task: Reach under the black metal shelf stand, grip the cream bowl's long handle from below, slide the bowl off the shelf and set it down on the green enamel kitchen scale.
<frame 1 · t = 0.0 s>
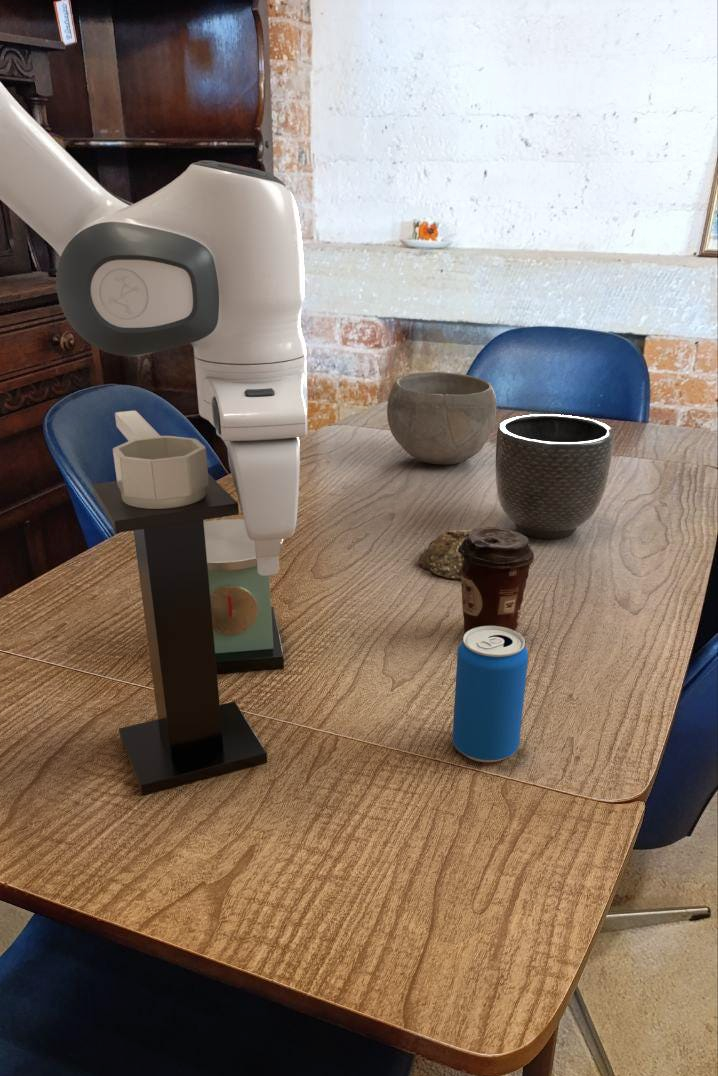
hand: (261, 550, 77), 20 cm above the table, tool pointing down, fingers open, 8 cm apart
handled bowl: (164, 494, 73), point 26 cm above the table, touching shelf stand
brown rock: (463, 565, 126), on the table
fruit: (548, 451, 177), on the table
scale: (232, 645, 104), on the table
bowl: (439, 459, 171), on the table
planter: (544, 530, 138), on the table
shelf stand: (192, 750, 85), on the table
coffee cup: (488, 637, 106), on the table
beverage can: (484, 749, 86), on the table
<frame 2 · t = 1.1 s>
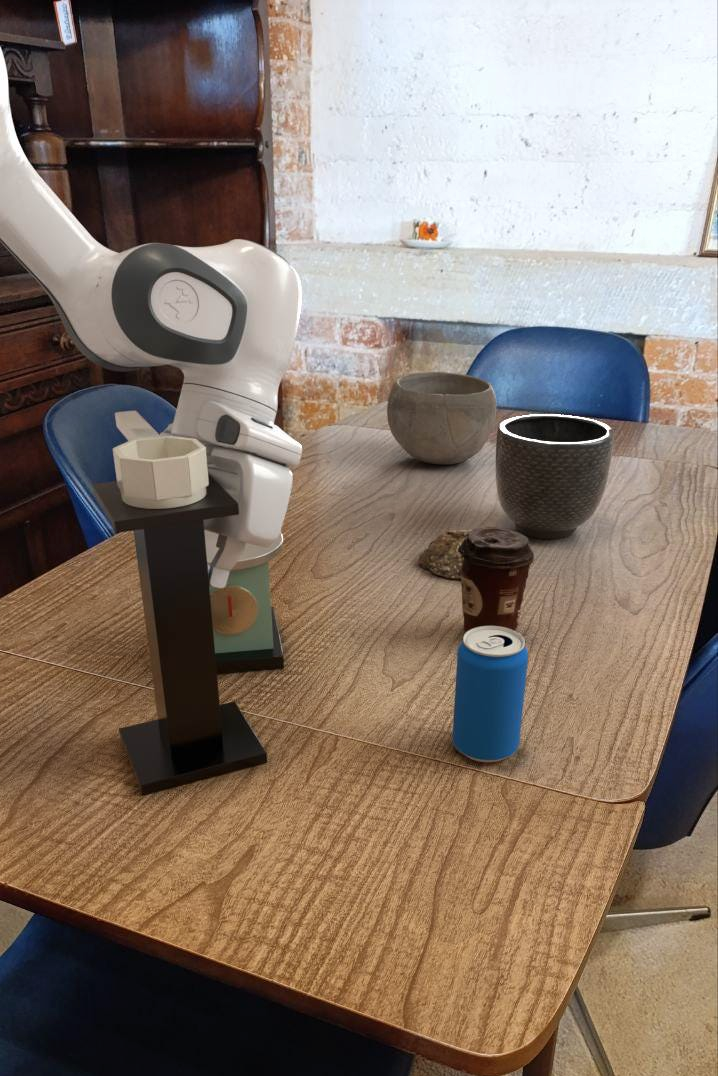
hand: (185, 575, 82), 16 cm above the table, tool tilted 25°, fingers open, 8 cm apart
nothing on the table moved.
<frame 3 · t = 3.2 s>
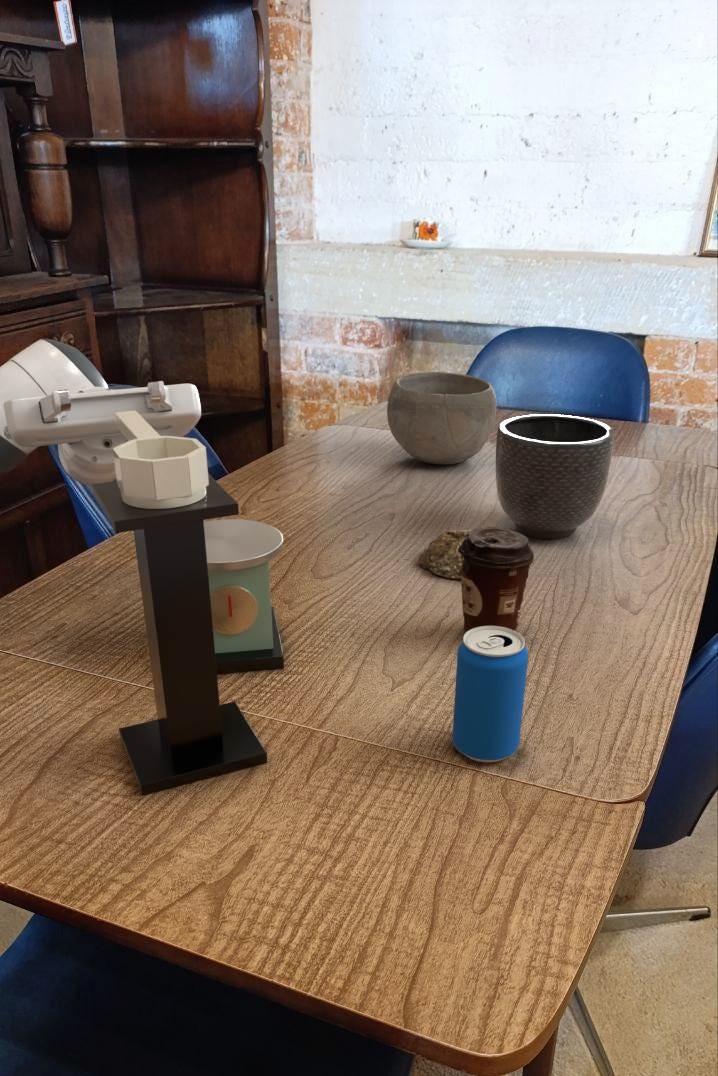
hand: (110, 393, 88), 30 cm above the table, tool pointing upward, fingers open, 8 cm apart
nothing on the table moved.
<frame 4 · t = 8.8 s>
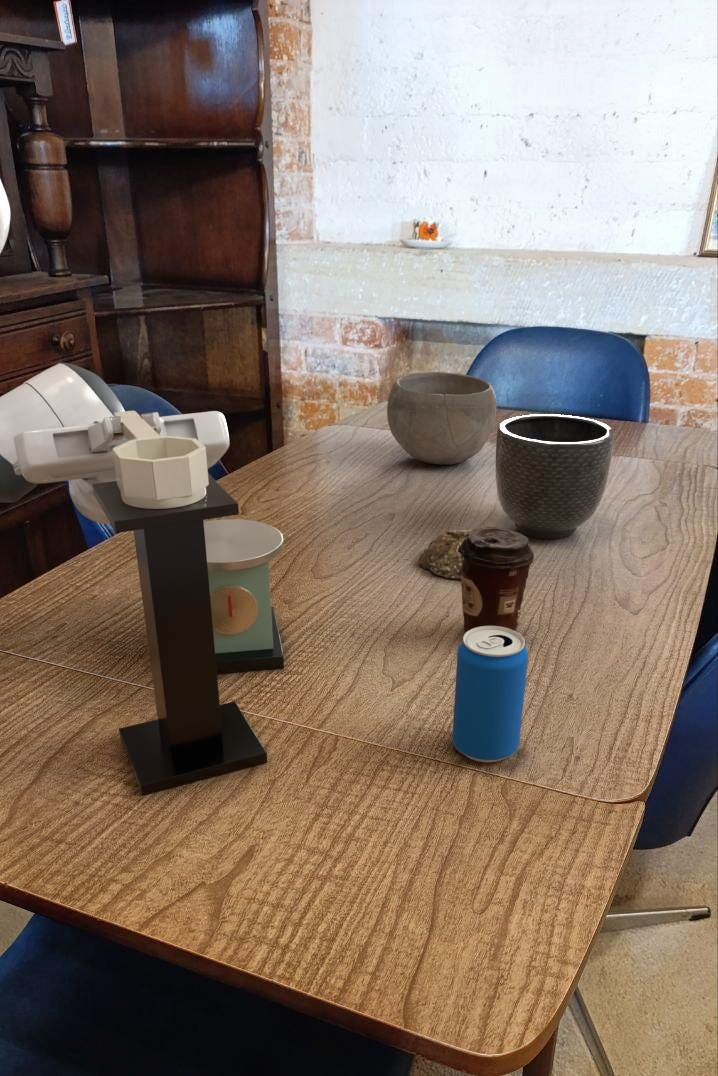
hand: (133, 423, 79), 30 cm above the table, tool pointing upward, fingers closed on handled bowl, 2 cm apart
handled bowl: (164, 494, 73), point 26 cm above the table, touching gripper, shelf stand
everything else where it was.
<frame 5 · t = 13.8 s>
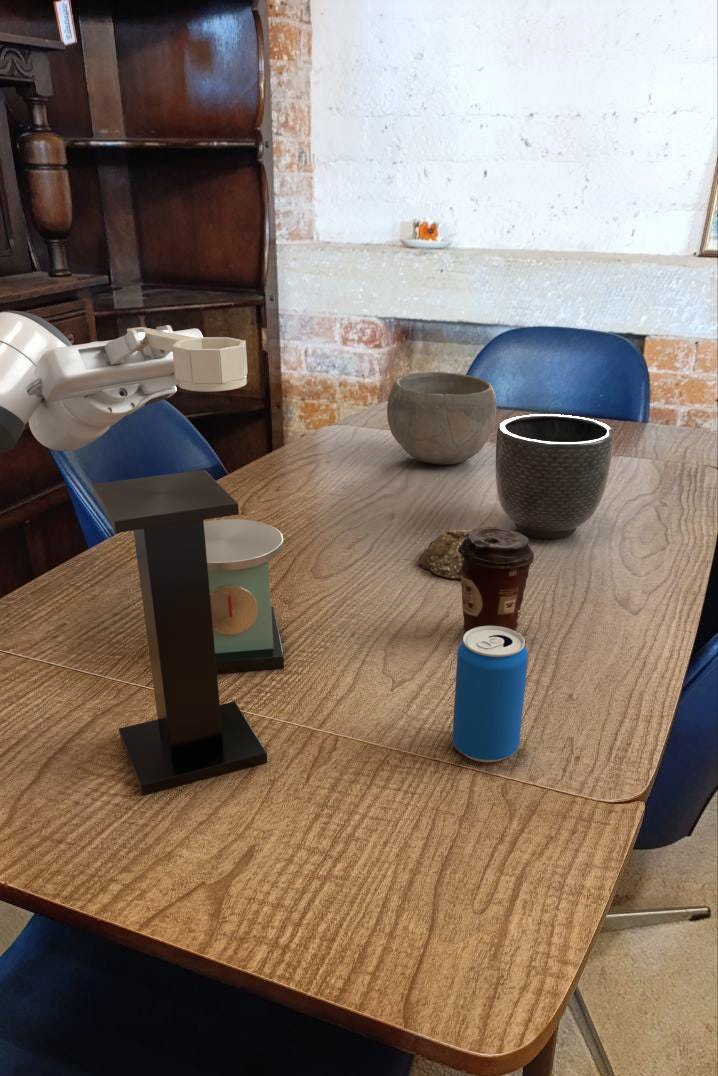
hand: (154, 334, 94), 34 cm above the table, tool pointing upward, fingers closed on handled bowl
handled bowl: (212, 383, 90), point 31 cm above the table, touching gripper
everything else where it was.
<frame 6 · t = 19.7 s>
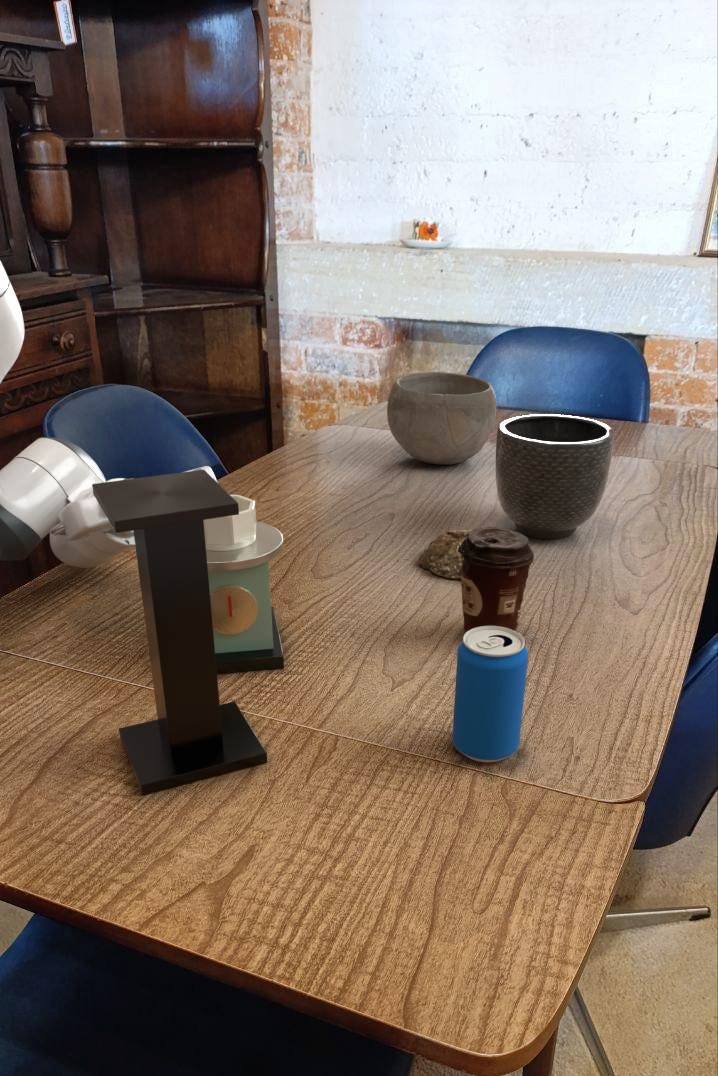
hand: (169, 483, 102), 18 cm above the table, tool pointing upward, fingers open, 8 cm apart
handled bowl: (224, 539, 98), point 14 cm above the table, touching scale
everything else where it was.
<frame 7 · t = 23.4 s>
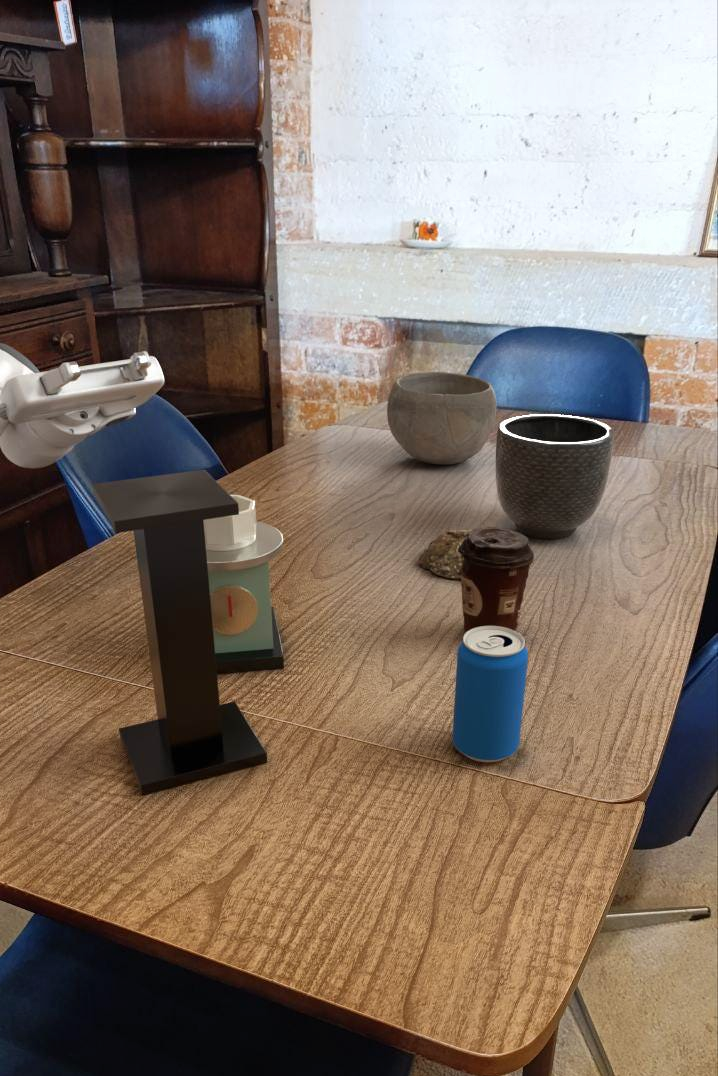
hand: (109, 362, 102), 30 cm above the table, tool pointing upward, fingers open, 8 cm apart
nothing on the table moved.
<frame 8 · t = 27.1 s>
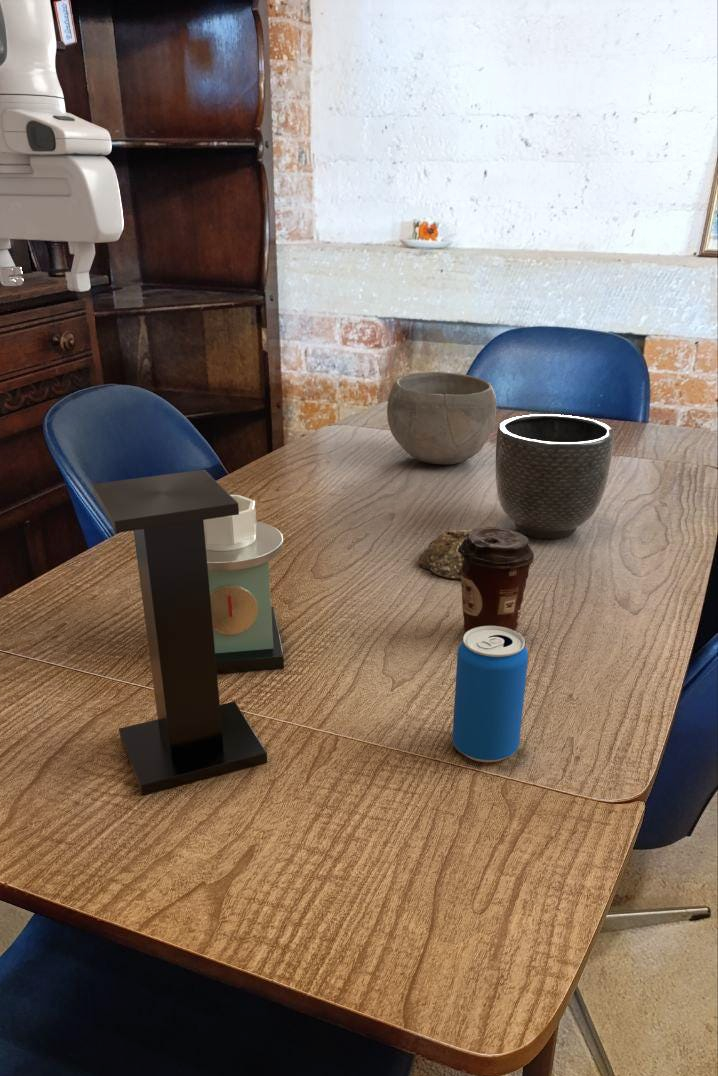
hand: (45, 288, 91), 39 cm above the table, tool pointing down, fingers open, 8 cm apart
nothing on the table moved.
at the end: handled bowl inside the target area on the scale (0.0 cm from its centre), point 13.5 cm above the scale's base; handled bowl tilted 0°; the gripper is holding nothing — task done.
